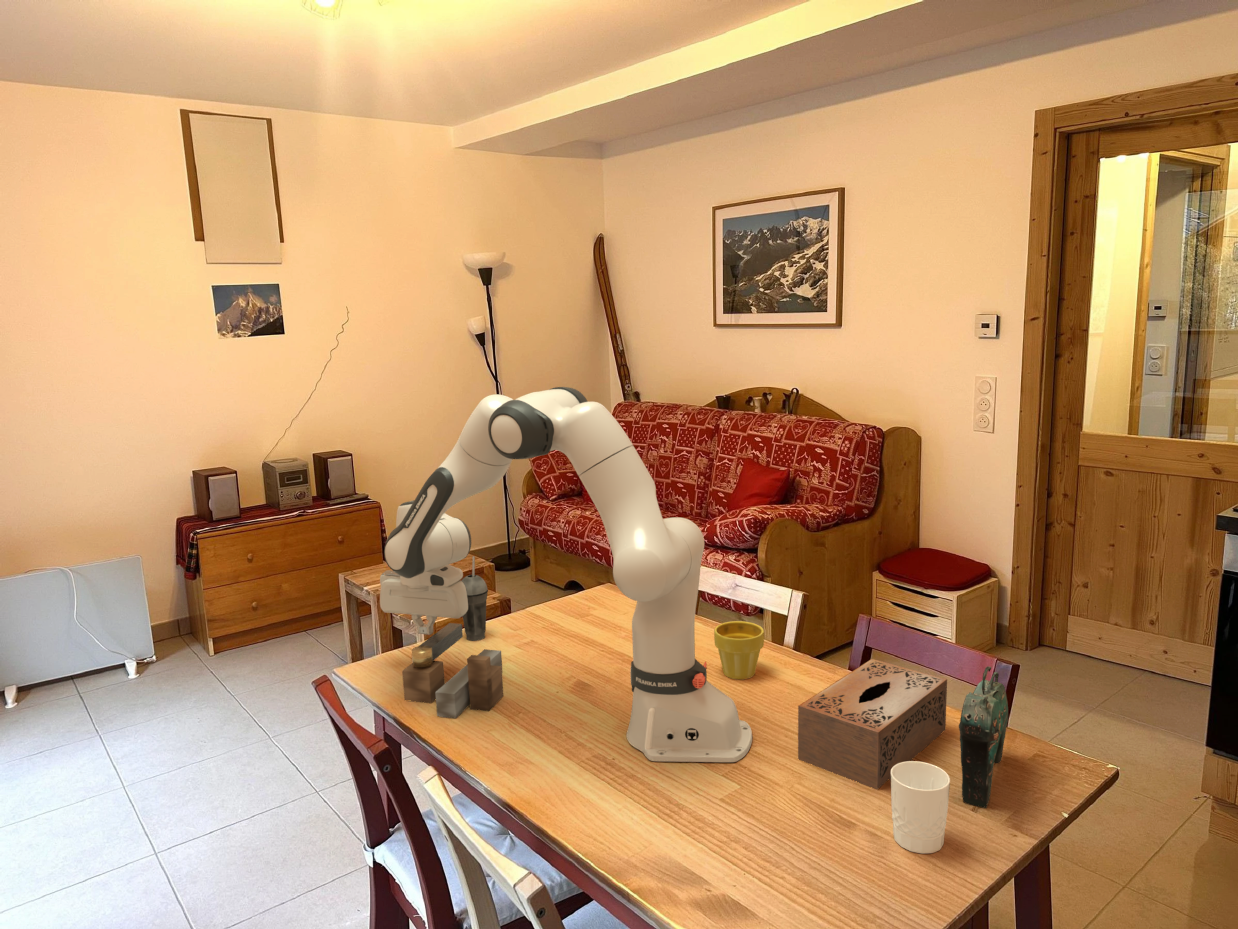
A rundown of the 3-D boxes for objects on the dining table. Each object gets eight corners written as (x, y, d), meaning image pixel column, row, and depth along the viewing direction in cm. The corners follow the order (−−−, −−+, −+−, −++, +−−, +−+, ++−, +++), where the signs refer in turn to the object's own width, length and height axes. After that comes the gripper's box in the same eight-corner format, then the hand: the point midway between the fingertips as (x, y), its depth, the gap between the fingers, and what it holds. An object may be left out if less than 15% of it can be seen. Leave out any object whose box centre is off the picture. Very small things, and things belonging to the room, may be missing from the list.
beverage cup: (454, 640, 204) (448, 560, 200) (472, 630, 210) (467, 552, 207) (478, 644, 200) (473, 563, 197) (496, 634, 206) (492, 555, 203)
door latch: (523, 674, 182) (521, 628, 181) (479, 721, 162) (476, 669, 160) (444, 667, 188) (441, 622, 186) (391, 711, 167) (387, 661, 165)
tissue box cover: (877, 791, 134) (878, 732, 132) (798, 760, 144) (798, 705, 142) (945, 731, 152) (947, 679, 151) (871, 708, 162) (872, 658, 160)
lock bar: (426, 668, 170) (425, 653, 170) (408, 666, 171) (407, 652, 171) (464, 637, 186) (463, 624, 186) (448, 635, 187) (447, 623, 187)
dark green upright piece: (992, 817, 126) (997, 690, 122) (946, 804, 129) (950, 681, 126) (1012, 757, 142) (1018, 644, 139) (971, 748, 146) (976, 637, 142)
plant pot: (763, 684, 173) (763, 639, 172) (713, 682, 175) (712, 637, 174) (764, 664, 183) (764, 621, 182) (716, 662, 185) (715, 620, 184)
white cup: (934, 822, 125) (936, 759, 123) (957, 855, 117) (959, 789, 115) (881, 825, 125) (882, 762, 123) (900, 858, 117) (902, 792, 115)
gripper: (371, 573, 183) (376, 634, 186) (454, 579, 177) (459, 642, 179) (388, 565, 189) (393, 624, 192) (469, 571, 183) (473, 632, 185)
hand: (425, 633), depth 185 cm, fingers closed
